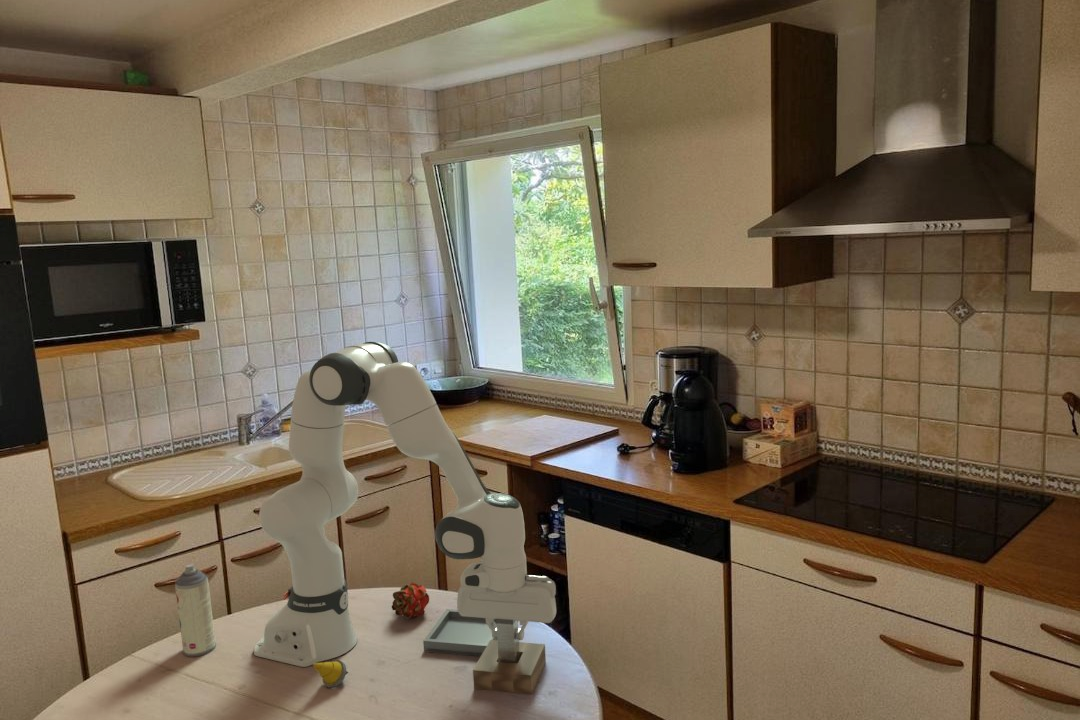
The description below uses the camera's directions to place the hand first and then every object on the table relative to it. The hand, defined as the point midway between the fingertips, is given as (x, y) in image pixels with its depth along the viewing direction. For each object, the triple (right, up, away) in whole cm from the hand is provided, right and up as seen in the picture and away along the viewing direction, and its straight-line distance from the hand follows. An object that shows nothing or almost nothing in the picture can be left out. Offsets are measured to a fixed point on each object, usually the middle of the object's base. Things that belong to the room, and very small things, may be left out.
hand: (508, 637), depth 162 cm
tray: (-10, -6, +17) cm, 21 cm away
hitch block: (+1, -8, +1) cm, 8 cm away
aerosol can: (-71, -9, +18) cm, 73 cm away
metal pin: (0, -6, +1) cm, 6 cm away
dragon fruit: (-24, -5, +30) cm, 39 cm away
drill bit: (-36, -10, 0) cm, 37 cm away
